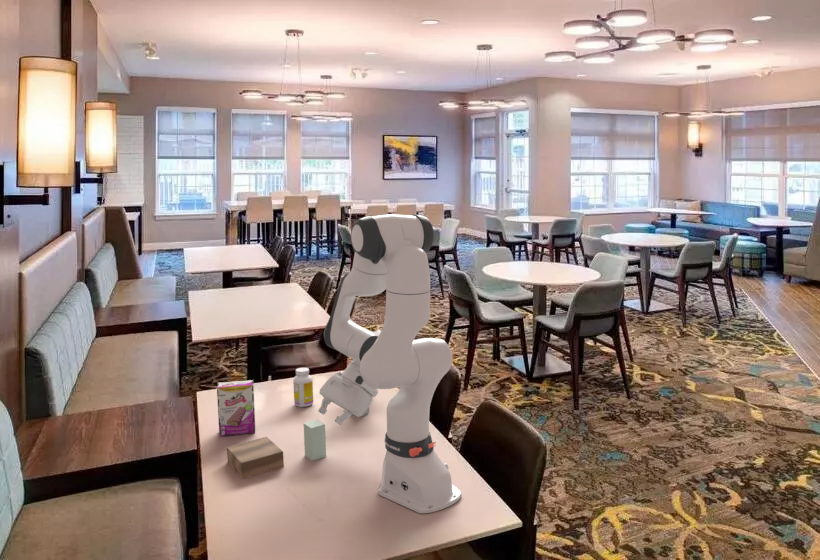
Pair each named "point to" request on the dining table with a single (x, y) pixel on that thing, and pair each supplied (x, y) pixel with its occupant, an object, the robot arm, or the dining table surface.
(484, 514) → the dining table surface
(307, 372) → the supplement bottle
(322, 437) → the sage pillar
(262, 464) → the walnut block
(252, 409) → the candy bar box
